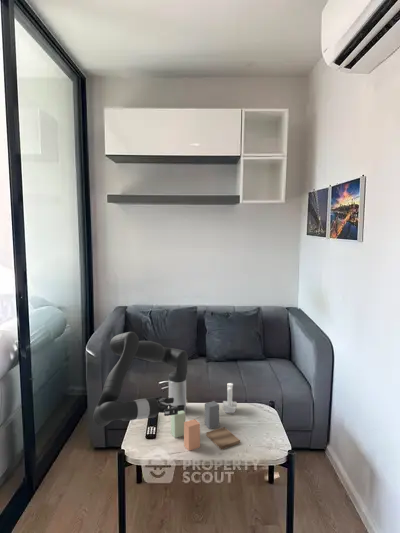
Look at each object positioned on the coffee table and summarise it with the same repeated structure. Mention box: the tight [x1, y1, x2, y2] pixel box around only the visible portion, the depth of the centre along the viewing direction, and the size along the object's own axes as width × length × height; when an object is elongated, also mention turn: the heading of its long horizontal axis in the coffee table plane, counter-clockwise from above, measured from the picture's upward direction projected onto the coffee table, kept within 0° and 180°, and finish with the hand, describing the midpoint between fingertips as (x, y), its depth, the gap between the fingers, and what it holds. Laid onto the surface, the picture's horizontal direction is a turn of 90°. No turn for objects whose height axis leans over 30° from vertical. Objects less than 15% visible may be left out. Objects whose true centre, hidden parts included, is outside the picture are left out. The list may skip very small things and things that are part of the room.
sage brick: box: [170, 411, 186, 439], centre depth 175 cm, size 4×6×11 cm
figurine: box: [222, 382, 238, 414], centre depth 198 cm, size 7×9×15 cm
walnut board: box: [205, 426, 241, 450], centre depth 171 cm, size 13×10×2 cm
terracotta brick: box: [183, 419, 201, 452], centre depth 165 cm, size 4×6×11 cm
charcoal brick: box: [204, 400, 220, 430], centre depth 183 cm, size 4×6×11 cm
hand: (178, 403), depth 159 cm, fingers open, 8 cm apart
